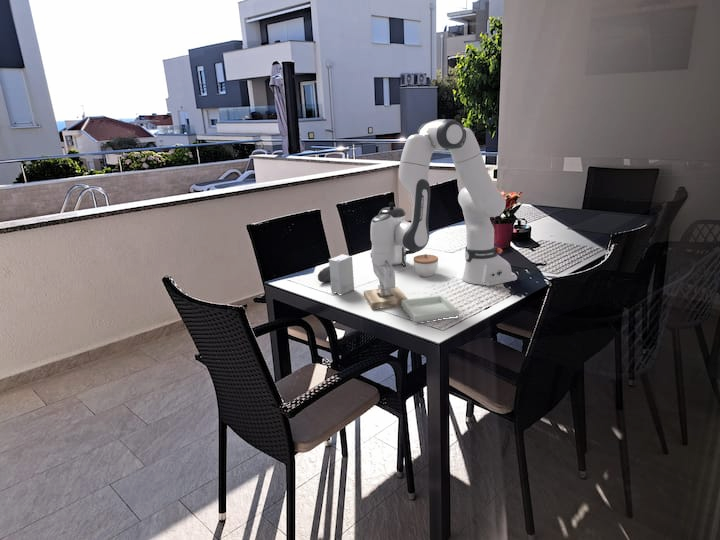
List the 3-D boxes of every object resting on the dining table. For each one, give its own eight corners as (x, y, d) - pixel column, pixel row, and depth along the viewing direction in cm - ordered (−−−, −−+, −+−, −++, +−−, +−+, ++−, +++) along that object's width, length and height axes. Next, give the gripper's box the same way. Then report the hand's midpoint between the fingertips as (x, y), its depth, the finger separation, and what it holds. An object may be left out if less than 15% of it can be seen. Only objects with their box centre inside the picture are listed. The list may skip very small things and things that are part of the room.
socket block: (397, 292, 199) (397, 286, 198) (407, 304, 186) (407, 298, 185) (363, 296, 196) (363, 290, 196) (371, 309, 183) (371, 303, 183)
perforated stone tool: (321, 285, 212) (320, 270, 210) (315, 282, 216) (313, 267, 214) (349, 277, 220) (348, 262, 218) (342, 274, 225) (341, 260, 222)
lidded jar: (439, 271, 221) (439, 251, 219) (436, 278, 212) (436, 258, 209) (416, 270, 224) (415, 250, 221) (412, 278, 215) (411, 257, 212)
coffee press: (394, 271, 224) (392, 207, 215) (372, 264, 236) (368, 203, 227) (421, 263, 234) (419, 200, 225) (398, 256, 246) (395, 197, 237)
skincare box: (344, 287, 209) (342, 253, 204) (355, 289, 205) (352, 255, 200) (330, 292, 203) (327, 258, 198) (340, 295, 199) (338, 260, 194)
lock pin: (388, 298, 193) (388, 283, 192) (391, 301, 190) (390, 287, 188) (379, 299, 193) (378, 285, 191) (381, 303, 189) (380, 288, 187)
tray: (442, 302, 186) (441, 294, 185) (458, 318, 171) (458, 310, 170) (401, 307, 183) (401, 300, 183) (414, 324, 168) (414, 316, 168)
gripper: (398, 264, 177) (400, 300, 181) (384, 250, 196) (386, 282, 200) (381, 266, 176) (383, 302, 180) (369, 251, 195) (371, 284, 199)
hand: (384, 291), depth 190 cm, fingers open, 4 cm apart
